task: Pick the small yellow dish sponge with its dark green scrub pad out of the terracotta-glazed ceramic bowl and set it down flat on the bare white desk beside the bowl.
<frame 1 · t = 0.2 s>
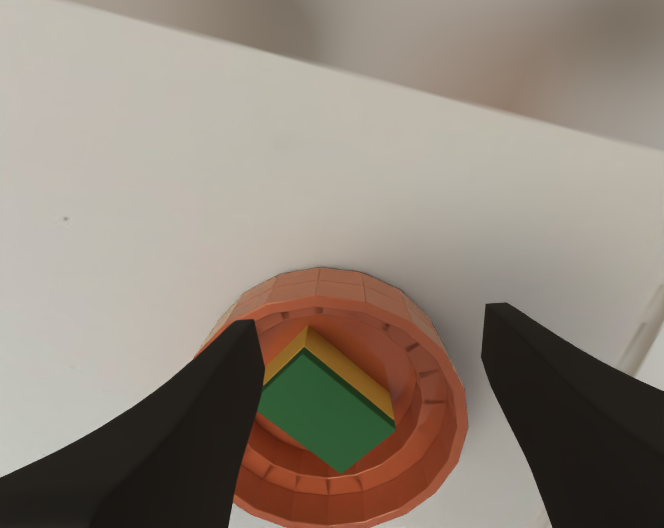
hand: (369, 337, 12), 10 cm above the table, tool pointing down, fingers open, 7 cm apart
dish sponge: (325, 381, 24), resting on bowl
bowl: (325, 377, 25), on the table
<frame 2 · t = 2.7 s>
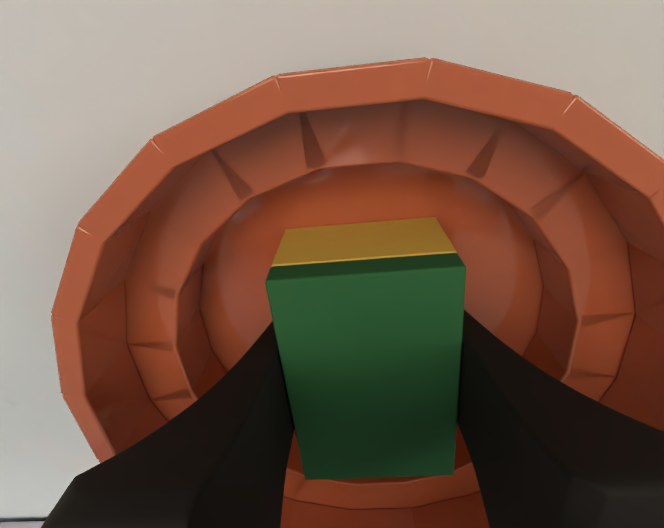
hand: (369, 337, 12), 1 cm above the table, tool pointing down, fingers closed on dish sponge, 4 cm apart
dish sponge: (366, 319, 13), resting on bowl, touching gripper
bowl: (366, 312, 13), on the table
when the fingers open (1 cm above the table, at t = 7.5 s): dish sponge stays where it is, on the table.
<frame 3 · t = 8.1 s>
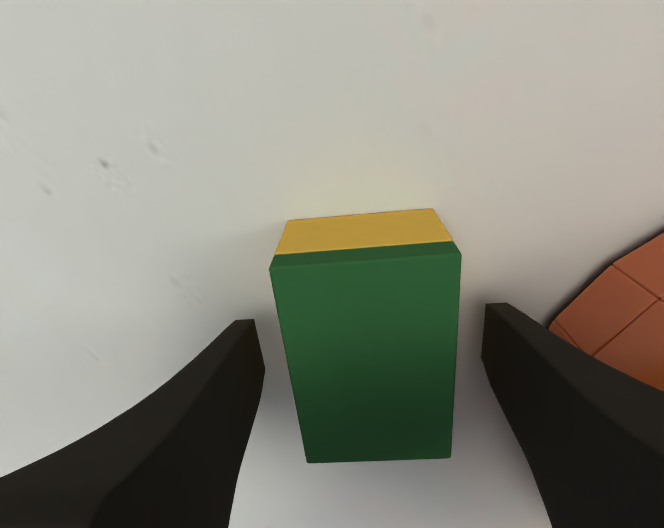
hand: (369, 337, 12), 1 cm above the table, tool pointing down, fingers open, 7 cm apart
dish sponge: (366, 309, 13), on the table
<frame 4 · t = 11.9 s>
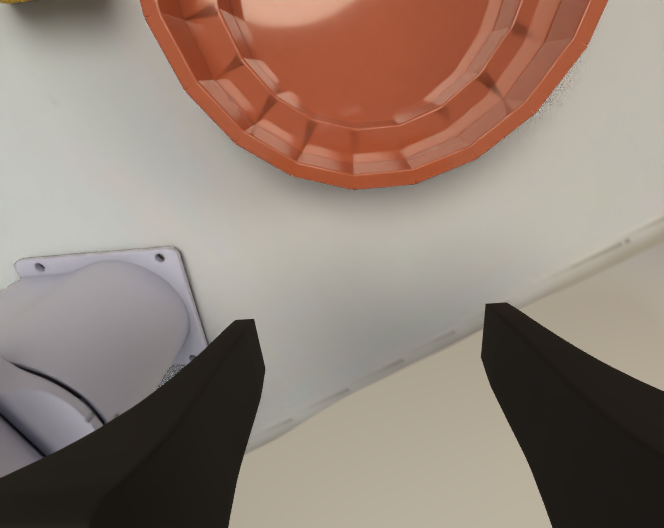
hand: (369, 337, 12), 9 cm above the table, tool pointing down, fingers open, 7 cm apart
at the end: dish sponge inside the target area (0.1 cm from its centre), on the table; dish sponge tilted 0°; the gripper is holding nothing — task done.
